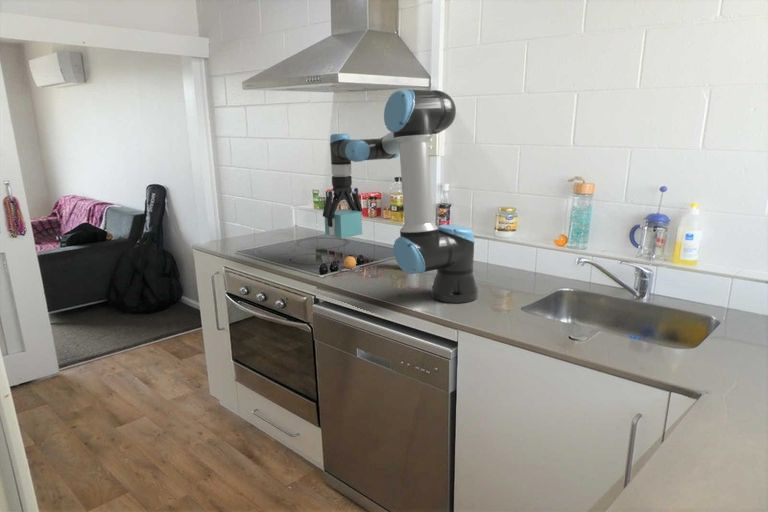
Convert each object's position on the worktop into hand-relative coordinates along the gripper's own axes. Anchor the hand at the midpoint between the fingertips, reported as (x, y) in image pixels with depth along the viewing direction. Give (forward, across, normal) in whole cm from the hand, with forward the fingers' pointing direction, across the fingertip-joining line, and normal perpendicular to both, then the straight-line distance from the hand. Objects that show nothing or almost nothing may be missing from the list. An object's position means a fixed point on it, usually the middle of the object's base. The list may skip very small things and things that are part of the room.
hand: (343, 232), depth 203 cm
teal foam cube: (+1, 0, 0) cm, 1 cm away
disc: (+14, 0, 0) cm, 14 cm away
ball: (+11, 0, +3) cm, 12 cm away
